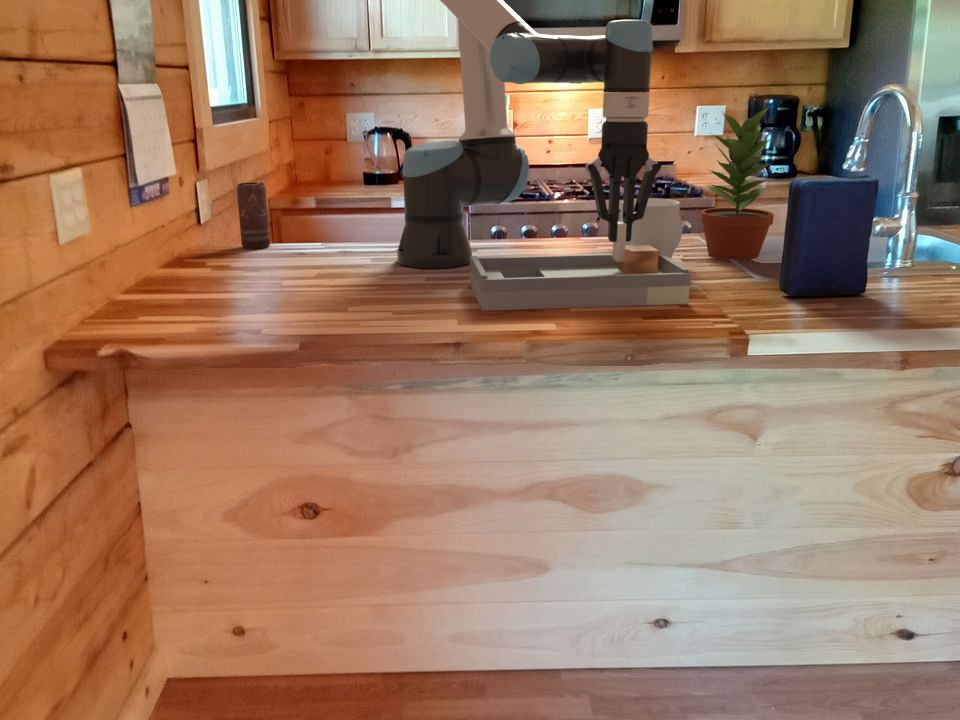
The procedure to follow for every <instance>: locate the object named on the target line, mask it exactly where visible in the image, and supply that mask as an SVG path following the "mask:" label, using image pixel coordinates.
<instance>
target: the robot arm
mask: <svg viewBox="0 0 960 720" xmlns="http://www.w3.org/2000/svg"><path fill="white" fill-rule="evenodd" d="M439 1H440V2H441V3H442V4H443V5H444V6H445V7H446V9H448V10H449V11H450V12H451V13H452V14H453V16H455V17H456V19H457V28H458V29H457V31H458V41H459V43H458V44H459V55H460V70H461V71H460V73H461V83H462V84H461V85H462V97H463V98H462V99H463V100H462V101H463V111H464V113H463V114H464V116H463V117H464V126H465V129H464V131H463V133H462V134H461V135H460V136H459V138H458V141H457V140H443V141H432V142H425V143H421V144H417V145H414V146H411V147H409V148H408V149H406V150H405V152H404V154H403V163H402V171H401V172H402V176H403V196H404V197H403V199H404V200H403V201H404V226H403V230H402V232H401V233H402V235H401V238H400V241H399V243H398V248H397V257H396V258H397V263H398V264H399V265H401V266H405V267H409V268H415V269H450V268H456V267H462V266H466V265H470V258H471V256H473V248H472V247H471V244H470V241H469V240H470V239H469V238H468V234H467V230H466V229H465V225H464V210H463V209H464V207H473V206H482V205H492V204H493V205H499V204H502V203H506V202H511V201H514V200H515V199H517V198H518V197H519V196H520V195H521V194H522V191H524V189H525V188H526V185H527V183H528V179H529V175H530V163H529V158H528V156H527V155H528V154H525V153H526V151H525V150H524V148H522V147H521V146H520V145H518V144H517V143H516V134H515V133H514V132H513V131H512V130H510V129H509V127H508V118H507V117H508V115H507V114H508V113H507V101H506V100H507V99H506V85H505V84H506V83H512V84H516V85H524V84H525V85H526V84H549V83H550V84H553V83H554V84H561V83H562V84H582V83H584V84H585V83H586V84H588V83H589V84H590V83H603V98H602V99H603V100H602V101H603V102H602V117H603V118H604V119H605V121H603V122H602V126H601V147H600V150H599V152H598V154H597V157H596V158H594V160H592V161H591V162H586V163H585V165H584V168H585V170H586V172H587V173H588V175H589V176H590V181H591V182H590V183H591V186H592V192H593V196H594V197H593V198H594V203H595V206H596V213H597V216H598V217H599V219H601V220H603V221H606V222H607V223H608V226H607V227H608V230H607V239H608V241H609V242H611V243H612V254H613V258H612V259H614V260H615V261H616V262H624V261H625V244H626V241H630V240H631V232H632V223H634V221H635V220H638V219H642V218H643V216H644V212H645V209H646V206H647V202H648V199H649V198H650V195H651V191H652V189H653V184H654V181H655V179H656V176H657V174H658V173H659V172H660V170H661V169H662V164H661V163H660V162H657V161H655V160H654V159H652V158H651V157H650V153H649V151H648V149H647V147H648V144H647V143H648V128H649V123H647V121H645V119H647V118H648V117H649V107H650V91H651V89H650V85H651V73H652V72H651V71H652V58H653V51H654V46H653V45H654V44H653V42H654V41H653V26H652V23H651V22H649V21H648V20H643V19H618V20H610V21H609V22H607V24H606V28H605V33H604V35H590V36H589V35H588V36H586V35H585V36H584V35H582V36H581V35H580V36H579V35H556V34H541V33H540V34H539V33H538V32H537V31H535V30H534V29H533V28H532V27H531V26H530V25H529V24H528V23H527V22H526V21H525V20H523V19H522V17H521V16H520V15H518V13H516V12H515V11H514V10H513V9H512V8H511V7H510V6H509V5H508V4H507V3H506V2H505V1H504V0H439ZM601 166H602V167H603V168H604V170H605V171H606V172H607V174H608V181H609V186H608V187H609V190H608V208H607V201H606V196H605V191H604V185H603V181H602V177H601V173H600V172H601V171H602V167H601ZM642 168H643V169H644V170H645V172H644V173H643V177H642V179H641V182H640V187H639V191H638V192H637V193H638V194H637V198H636V199H637V200H636V204H635V207H634V199H635V189H636V182H637V175H638V174H639V172H640V171H641V169H642ZM622 177H623V196H622V197H623V199H622V201H623V217H622V218H623V222H620V198H621V195H620V194H621V183H622Z"/></svg>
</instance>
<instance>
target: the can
mask: <svg viewBox="0 0 960 720" xmlns="http://www.w3.org/2000/svg"><path fill="white" fill-rule="evenodd" d="M266 188H267V187H266V186H265V183H264V182H262V181H261V182H242V183H241V182H240V183H238V184H237V186H236V197H237V198H236V199H237V207H238V217H239V227H240V229H239V230H240V239H241V240H240V241H241V246H242V247H243V249H245V250H263V249H267V248H269V247H270V245H271V238H270V224H269V215H268V214H269V213H268V201H267V200H268V199H267V189H266Z"/></svg>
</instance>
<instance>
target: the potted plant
mask: <svg viewBox="0 0 960 720" xmlns="http://www.w3.org/2000/svg"><path fill="white" fill-rule="evenodd" d="M770 106H771V105H768V107H767V108H766V109H764V110H759V111H758V112H756V113H755V114H754V115H753V117H750V118H747V119H745V120H744V121H743V123H742V126H741V125H740V123H739V122H738V121H737V120H736V119H735V118H734V117H733V116H730V115H727V114H725V112H724V111H722V110H721V113H722V114H723V117H724V118H725V119H726V121H727V123H728V124H729V127H730V128H731V129H732V131H733V133H734V134H735V136H736V139H734V138H730V137H729V136H728V135H726V138H723V137H721V136H718V135H714V134H713V133H712V132H710V134H711V135H712V136H713V137H715V138H716V139H717V140H718V141H719V142H720V143H721V144H722V145H724V146H725V147H726V148H727V149H728V156H729V157H728V156H727V155H726V154H725V153H724V151H723V150H722V149H721V148H720V147H719V146H718V145H717V144H715V146H716V147H717V150H719V152H720V153H721V154H722V156H723V157H724V158H725V160H726V161H727V163H724V162H721V161H719V160H717V159H716V161H717V162H718V164H719V166H721V168H723V169H724V171H726V172H727V174H729V177H728V176H727V175H725V174H724V173H721V172H719V171H715V170H709V169H708V171H709V172H710V173H712V174H714V175H715V176H716V177H718V178H720V179H721V180H722V181H724V182H725V183H727V184H728V185H729V186H731V187H733V188H729V187H726V186H724V185H716V184H710V183H708V184H706V183H705V184H704V185H705V186H706V187H707V188H708V189H709V190H711V191H713V192H714V193H715V194H717V195H718V196H719V197H721V199H722V198H723V199H724V200H725V201H727V202H728V203H730V205H732V206H734V207H713V208H707V209H706V208H705V209H702V210H701V211H700V215H699V216H700V217H699V222H700V223H702V227H703V228H702V229H703V233H704V239H705V243H706V249H707V254H708V256H710V257H712V258H717V259H722V260H731V259H746V260H754V259H757V258H759V256H760V254H761V252H762V248H763V246H764V242H765V239H766V237H767V234H768V231H769V228H770V227H771V226H773V223H774V216H775V213H774V212H772V211H769V210H765V209H757V208H746V207H747V206H749V205H750V204H751V203H752V202H754V201H755V200H756V199H757V198H758V197H759V196H761V195H762V194H763V193H764V192H765V191H766V188H767V187H768V185H766V186H764V187H763V188H755V187H757V186H758V185H760V184H763V183H764V182H766V181H768V180H769V178H766V179H764V180H753V177H752V178H750V179H746V178H748V177H750V176H752V175H754V174H755V173H757V172H759V171H761V170H762V169H765V168H767V167H768V166H770V165H772V164H773V163H774V161H773V162H771V163H766V164H759V165H756V164H757V163H758V162H759V161H760V159H762V158H763V153H760V152H762V150H764V149H765V145H766V144H767V143H769V142H770V141H771V140H772V138H773V136H772V137H771V138H769V139H768V140H760V141H759V142H757V141H758V139H759V137H760V136H761V133H762V132H761V129H762V127H761V126H760V125H761V123H760V121H761V119H762V117H763V116H764V115H765V114H766V112H767V111H768V109H769V107H770ZM756 142H757V143H756ZM755 165H756V166H755ZM709 185H710V186H709ZM753 188H755V189H753ZM751 189H752V190H751ZM750 190H751V191H750ZM730 194H731V195H730ZM746 260H745V261H746Z"/></svg>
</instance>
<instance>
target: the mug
mask: <svg viewBox="0 0 960 720" xmlns="http://www.w3.org/2000/svg"><path fill="white" fill-rule="evenodd" d="M636 200H637V198H634V207H635V204H636ZM680 206H681V203H680V202H679V201H678V200H674V199H666V198H656V197H655V198H650V197H649V199H648V202H647V206H646V209H645V212H644V216H643V218H642V219H638V220H635V221H634V223H632V232H631V240H630V241H626V244H625V245H650V246H652V247H654V248H655V249H657V250H659V252H660V253H662V254H664V255H665V256H667V257H669V258H670V259H672V258H673V255H674V252H675V251H676V250H677V248H678V246H679V244H680V242H681V239H682V235H683V222H682V217H681V215H680ZM622 217H623V200H622V201H621V202H620V212H619V222H623V218H622Z"/></svg>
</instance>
